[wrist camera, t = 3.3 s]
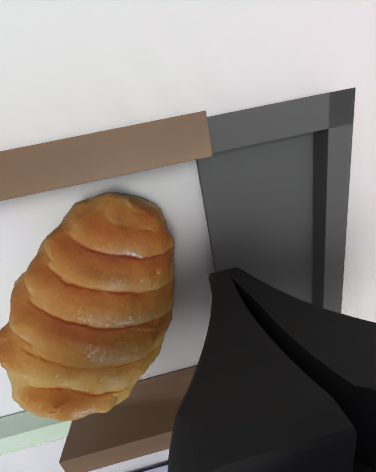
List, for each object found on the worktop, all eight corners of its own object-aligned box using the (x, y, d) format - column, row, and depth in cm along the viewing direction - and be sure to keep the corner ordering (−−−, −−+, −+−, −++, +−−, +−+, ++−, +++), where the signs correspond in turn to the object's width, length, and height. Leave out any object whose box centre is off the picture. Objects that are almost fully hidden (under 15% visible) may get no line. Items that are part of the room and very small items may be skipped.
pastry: (55, 163, 9) (-7, 169, 6) (206, 217, 11) (232, 248, 7) (16, 342, 12) (-43, 425, 8) (144, 363, 13) (141, 439, 10)
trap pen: (323, 346, 14) (337, 362, 13) (232, 371, 14) (239, 389, 13) (331, 95, 9) (355, 87, 8) (190, 123, 9) (195, 119, 8)
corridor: (232, 371, 14) (251, 424, 11) (86, 410, 14) (68, 476, 11) (190, 123, 9) (205, 110, 6) (-44, 170, 9) (-140, 179, 6)
